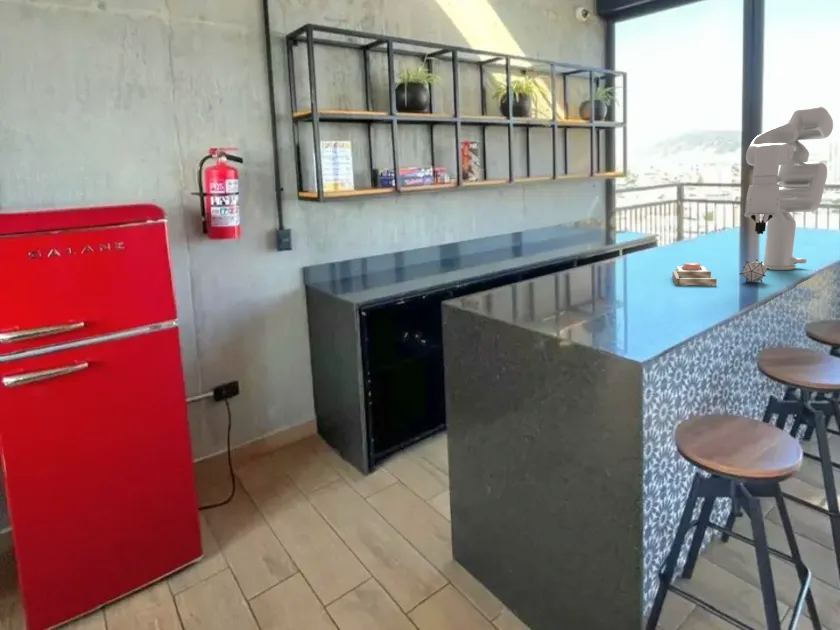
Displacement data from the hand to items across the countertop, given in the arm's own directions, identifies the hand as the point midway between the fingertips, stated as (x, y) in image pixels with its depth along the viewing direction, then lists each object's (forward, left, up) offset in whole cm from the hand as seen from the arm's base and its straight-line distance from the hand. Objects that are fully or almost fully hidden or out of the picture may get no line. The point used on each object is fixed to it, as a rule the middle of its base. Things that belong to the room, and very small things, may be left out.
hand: (759, 233), depth 208 cm
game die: (+1, +4, -17) cm, 18 cm away
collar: (+20, -9, -17) cm, 28 cm away
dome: (+20, -9, -16) cm, 28 cm away
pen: (+20, +4, -17) cm, 27 cm away
